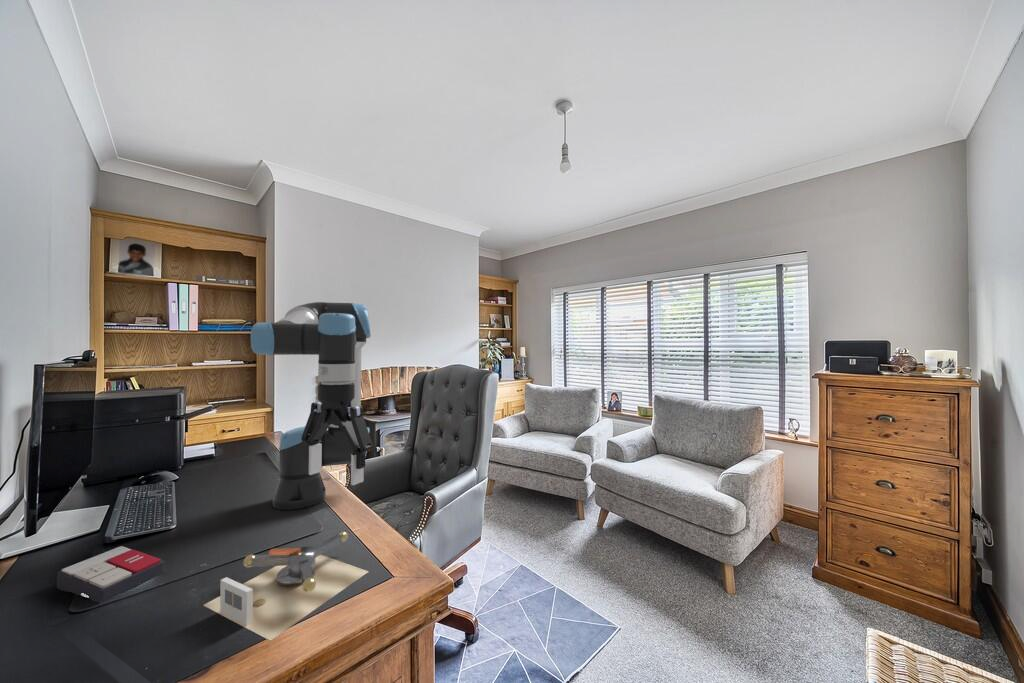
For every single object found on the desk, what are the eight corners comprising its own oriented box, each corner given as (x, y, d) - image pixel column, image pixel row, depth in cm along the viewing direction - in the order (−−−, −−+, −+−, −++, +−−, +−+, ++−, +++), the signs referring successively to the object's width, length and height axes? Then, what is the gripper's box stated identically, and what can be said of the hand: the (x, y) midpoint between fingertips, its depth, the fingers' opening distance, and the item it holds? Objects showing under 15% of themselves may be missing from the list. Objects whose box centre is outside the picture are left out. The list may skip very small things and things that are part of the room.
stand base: (306, 555, 94) (306, 548, 94) (368, 578, 86) (368, 569, 86) (202, 613, 74) (203, 603, 74) (270, 649, 66) (270, 638, 66)
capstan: (316, 539, 98) (316, 517, 98) (378, 560, 89) (379, 535, 89) (240, 579, 82) (241, 552, 82) (307, 609, 73) (308, 578, 73)
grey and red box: (101, 587, 76) (56, 568, 81) (99, 608, 77) (55, 588, 81) (165, 557, 87) (122, 542, 92) (164, 576, 87) (122, 560, 92)
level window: (226, 608, 73) (226, 576, 73) (253, 622, 70) (253, 588, 70) (219, 612, 72) (219, 580, 72) (246, 626, 69) (246, 592, 69)
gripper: (285, 381, 89) (283, 473, 89) (363, 387, 78) (362, 493, 78) (314, 378, 96) (313, 464, 96) (390, 384, 85) (389, 482, 85)
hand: (335, 478), depth 87 cm, fingers open, 13 cm apart
